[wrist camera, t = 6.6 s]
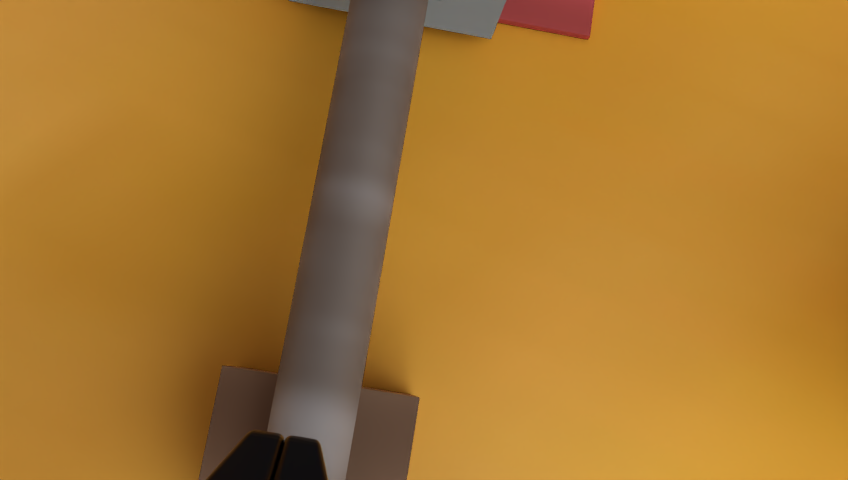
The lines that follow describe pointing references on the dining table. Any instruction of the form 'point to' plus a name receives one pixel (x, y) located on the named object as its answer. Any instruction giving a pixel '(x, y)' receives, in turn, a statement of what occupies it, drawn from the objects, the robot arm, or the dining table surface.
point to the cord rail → (353, 256)
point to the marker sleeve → (446, 14)
